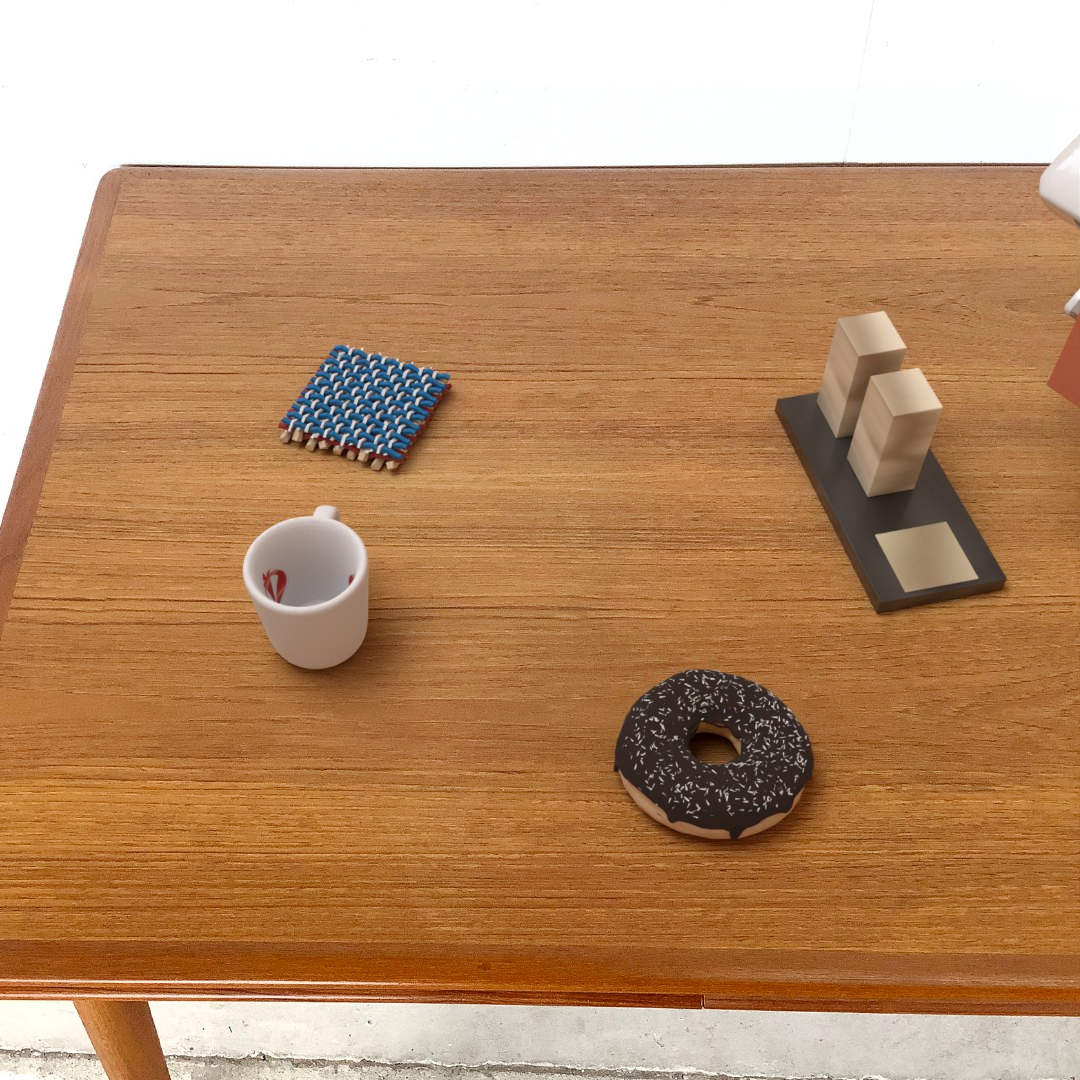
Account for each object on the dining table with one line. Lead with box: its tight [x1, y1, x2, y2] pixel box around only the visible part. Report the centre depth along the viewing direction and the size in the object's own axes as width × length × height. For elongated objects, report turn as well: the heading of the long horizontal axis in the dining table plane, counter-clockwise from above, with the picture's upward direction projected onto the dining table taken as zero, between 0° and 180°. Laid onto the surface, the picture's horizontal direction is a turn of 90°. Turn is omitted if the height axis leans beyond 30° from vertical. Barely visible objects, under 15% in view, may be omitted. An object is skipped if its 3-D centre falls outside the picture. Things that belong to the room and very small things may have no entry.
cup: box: [242, 504, 370, 670], centre depth 86 cm, size 11×8×8 cm
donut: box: [612, 668, 815, 842], centre depth 80 cm, size 11×12×4 cm
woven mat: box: [277, 344, 453, 471], centre depth 100 cm, size 10×11×2 cm
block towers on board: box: [774, 310, 1008, 614], centre depth 90 cm, size 9×20×9 cm, turn 11°
